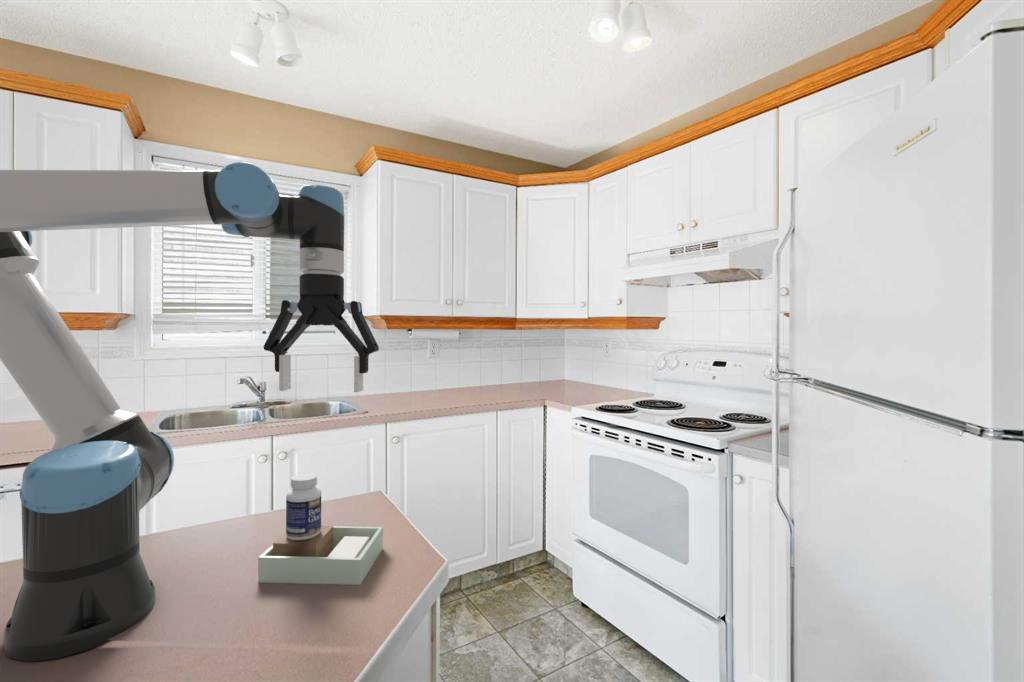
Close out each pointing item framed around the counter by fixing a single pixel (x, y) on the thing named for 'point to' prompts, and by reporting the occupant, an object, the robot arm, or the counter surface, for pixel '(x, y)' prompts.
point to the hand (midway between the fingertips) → (321, 390)
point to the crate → (323, 562)
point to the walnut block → (306, 545)
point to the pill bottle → (303, 508)
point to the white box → (350, 547)
